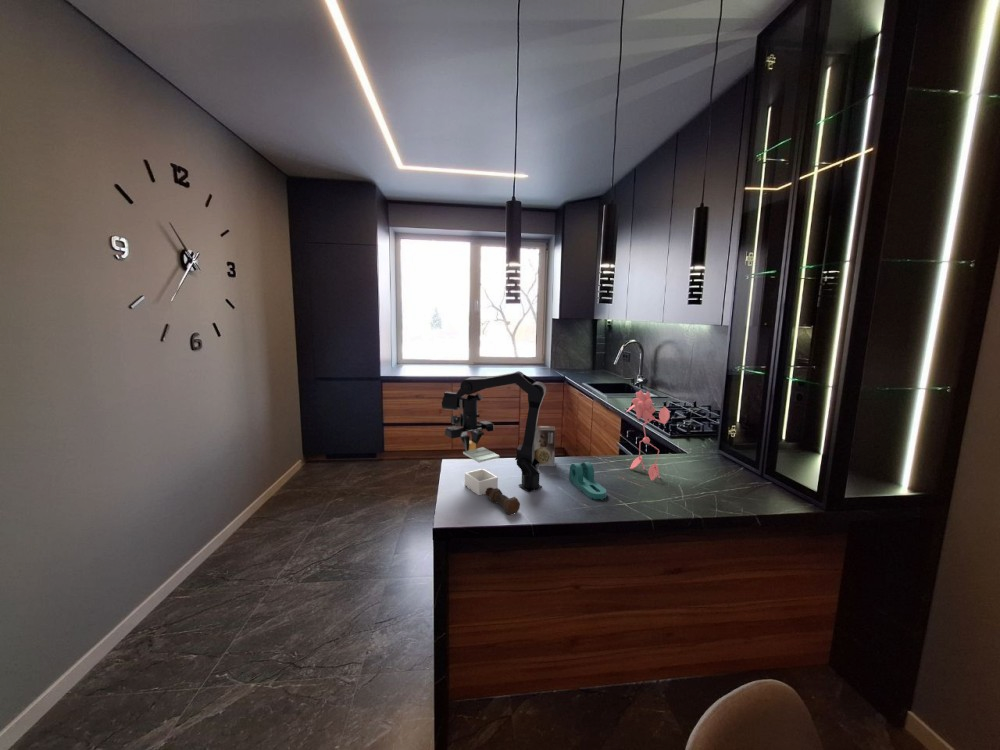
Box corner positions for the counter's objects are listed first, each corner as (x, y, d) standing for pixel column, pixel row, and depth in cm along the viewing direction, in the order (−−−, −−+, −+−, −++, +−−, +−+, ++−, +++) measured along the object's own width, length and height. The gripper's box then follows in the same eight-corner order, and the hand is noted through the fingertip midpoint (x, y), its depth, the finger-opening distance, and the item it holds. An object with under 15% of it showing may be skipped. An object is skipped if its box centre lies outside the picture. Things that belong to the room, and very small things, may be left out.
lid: (499, 457, 141) (499, 449, 141) (478, 462, 136) (478, 454, 136) (477, 446, 153) (477, 439, 153) (457, 450, 148) (457, 443, 148)
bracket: (569, 480, 153) (570, 461, 152) (584, 478, 155) (585, 459, 153) (592, 501, 136) (593, 479, 135) (609, 498, 138) (610, 477, 136)
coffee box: (554, 461, 172) (555, 425, 170) (554, 466, 166) (555, 430, 163) (533, 460, 173) (534, 425, 171) (533, 465, 167) (533, 429, 164)
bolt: (490, 500, 139) (515, 517, 126) (480, 497, 136) (504, 513, 124) (497, 485, 140) (522, 500, 127) (486, 481, 137) (511, 496, 125)
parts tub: (497, 490, 143) (497, 477, 142) (479, 495, 139) (479, 482, 138) (482, 480, 151) (482, 468, 150) (464, 485, 147) (464, 472, 146)
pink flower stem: (634, 462, 172) (637, 383, 166) (676, 486, 147) (682, 396, 142) (603, 466, 167) (606, 386, 162) (641, 492, 143) (646, 399, 137)
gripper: (479, 404, 159) (479, 441, 161) (437, 410, 148) (438, 449, 150) (494, 409, 150) (494, 448, 152) (452, 416, 139) (452, 458, 142)
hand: (470, 450), depth 149 cm, fingers closed on lid, 2 cm apart
